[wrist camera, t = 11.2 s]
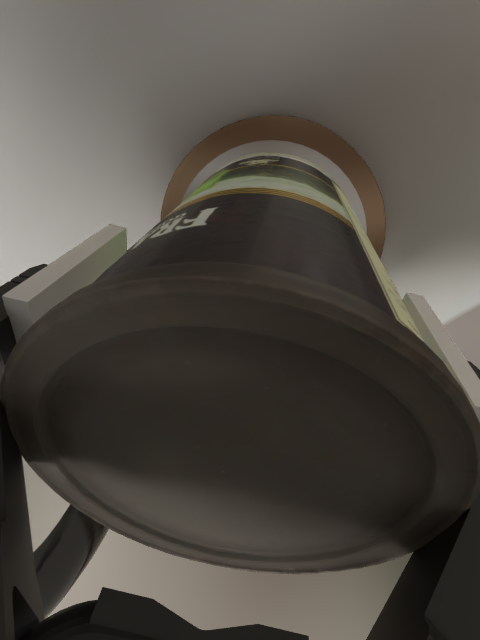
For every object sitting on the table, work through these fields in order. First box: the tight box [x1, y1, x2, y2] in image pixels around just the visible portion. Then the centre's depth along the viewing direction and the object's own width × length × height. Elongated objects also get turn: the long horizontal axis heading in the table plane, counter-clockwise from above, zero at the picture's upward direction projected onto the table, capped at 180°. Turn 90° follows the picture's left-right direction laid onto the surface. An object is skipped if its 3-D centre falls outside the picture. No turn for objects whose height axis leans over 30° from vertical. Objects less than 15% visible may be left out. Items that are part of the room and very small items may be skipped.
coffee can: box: [0, 152, 480, 574], centre depth 13 cm, size 10×10×14 cm
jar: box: [22, 456, 70, 552], centre depth 24 cm, size 11×10×15 cm
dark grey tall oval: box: [33, 504, 109, 618], centre depth 34 cm, size 10×10×15 cm
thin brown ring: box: [161, 115, 386, 259], centre depth 19 cm, size 13×13×2 cm
